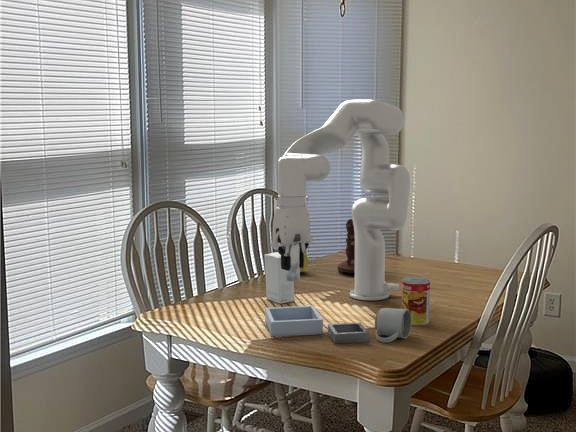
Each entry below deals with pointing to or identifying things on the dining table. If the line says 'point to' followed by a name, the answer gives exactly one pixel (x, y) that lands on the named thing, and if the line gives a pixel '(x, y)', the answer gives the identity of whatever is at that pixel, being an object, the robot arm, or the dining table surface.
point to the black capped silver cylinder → (294, 260)
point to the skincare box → (277, 280)
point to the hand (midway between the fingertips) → (292, 267)
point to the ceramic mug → (393, 324)
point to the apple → (304, 263)
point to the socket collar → (348, 333)
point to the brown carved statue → (349, 250)
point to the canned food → (416, 299)
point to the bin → (293, 321)
